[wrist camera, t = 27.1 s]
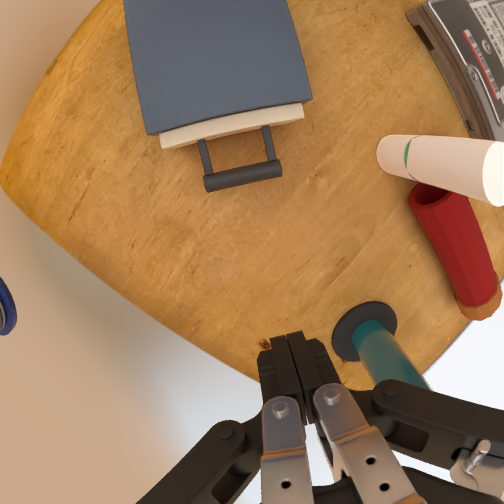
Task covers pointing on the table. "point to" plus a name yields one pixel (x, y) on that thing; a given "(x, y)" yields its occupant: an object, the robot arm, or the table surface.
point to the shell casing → (459, 248)
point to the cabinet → (212, 59)
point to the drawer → (228, 127)
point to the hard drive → (468, 57)
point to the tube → (447, 163)
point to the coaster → (353, 320)
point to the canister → (384, 355)
